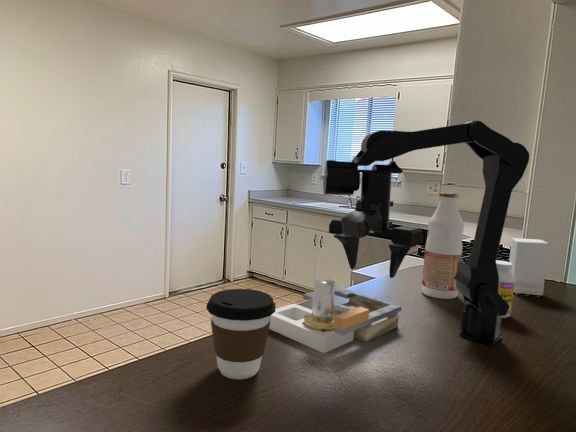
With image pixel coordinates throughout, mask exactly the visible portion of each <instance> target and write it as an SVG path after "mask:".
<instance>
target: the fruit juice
mask: <svg viewBox="0 0 576 432" xmlns="http://www.w3.org/2000/svg"><path fill="white" fill-rule="evenodd" d="M438 198H439V202H438V205H437V207H436V208H435V210H434V213H433V214H432V216H431V217H430V218H429V219H428V222H427V223H428V224H427V227H428V237H427V239H426V241H425V247H424V258H423V269H422V270H423V271H422V282H421V292H422V293H423V295H425V296H428V297H430V298H434V299H440V300H452V299H453V300H454V299H455V298H456V299H457V297H458V292H459V290H458V288H457V286H456V280H455V279H454V277H455V275H456V273H457V264H458V261H461V262H462V256H463V241H462V236H463V233H464V229H465V223H464V220H463V219H462V217H461V214H460V210H459V205H458V200H459V198H460V195H459V193H457V192H449V191H447V192H444V191H441V192H439V193H438Z"/></svg>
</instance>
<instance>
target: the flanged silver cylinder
mask: <svg viewBox="0 0 576 432" xmlns="http://www.w3.org/2000/svg"><path fill="white" fill-rule="evenodd" d="M335 286H336V282H335V281H334V280H332V279H328V278H317V279H314V280H313V291H312V292H313V302H312V308H311V310H312V313H310V314H307V315H305V316H304V325H305V326H307V327H308V328H311V329H314V330H318V331H322V332H325V331H332V330H334V322H335V315H333V306H334V302H335V295H334V292H335Z"/></svg>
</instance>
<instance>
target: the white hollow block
mask: <svg viewBox="0 0 576 432" xmlns="http://www.w3.org/2000/svg"><path fill="white" fill-rule="evenodd" d="M310 313H312V308H311V309H310V308H308V307H305V306H302V305H299V304H297V303H291V304H287V305H284V306H281V307H277V308H275V312H274V313H273V314H272V315H271V316H270V326H269V330H270V331H273V332H276V333H278V334H280V335H282V336H284V337H287V338H289V339H291V340H292V341H293V340H294V341H295V342H298V343H300V344H302V345H305V346H306V347H308V348H310V349H313V350H315V351H318V352H320V353H322V354H325V353H328V352H330V351H332V350H334V349H337V348H339V347H341V346H344V345H346V344H349V343H350V342H352V341H354V337H353V336H354V331H352V332H350V333H347V334H345V335H341V334H338V333H336V332H334V330H332V331H325V332H322V331H318V330H314V329H311V328H308V327H307V326H305V325H304V316H305V315H307V314H310Z"/></svg>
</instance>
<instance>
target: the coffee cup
mask: <svg viewBox="0 0 576 432" xmlns="http://www.w3.org/2000/svg"><path fill="white" fill-rule="evenodd" d="M205 307H206V311H207V312H208V313H209V314H210V315H211V316H210V317H211V319H210V326H211V333H212V340H213V341H212V342H213V347H214V349H213V350H214V353H215V355H216V356H215V357H216V364H217V368H218V370H219V372H220V374H221V375H222V376H223V377H226V378H228V379H230V380H231V379H232V380H245V379H249V378H251V377H254V376H255V375H256V374H257V373H258V372H259V369H260V368H261V362H262V358H263V355H264V354H265V349H266V345H267V340H268V334H269V331H270V329H269V326H270V316H271V315H272V314H273V313H274V312H275V309H276V302H274V298H273V297H272V296H271V295H270V294H269V293H266V292H263V291H261V290H255V289H251V288H250V289H248V288H232V289H231V288H230V289H229V288H228V289H225V290H220V291H217V292H215V293H213V294H211V296H210V298H209V299H208V301H207V304H206V306H205Z"/></svg>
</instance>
